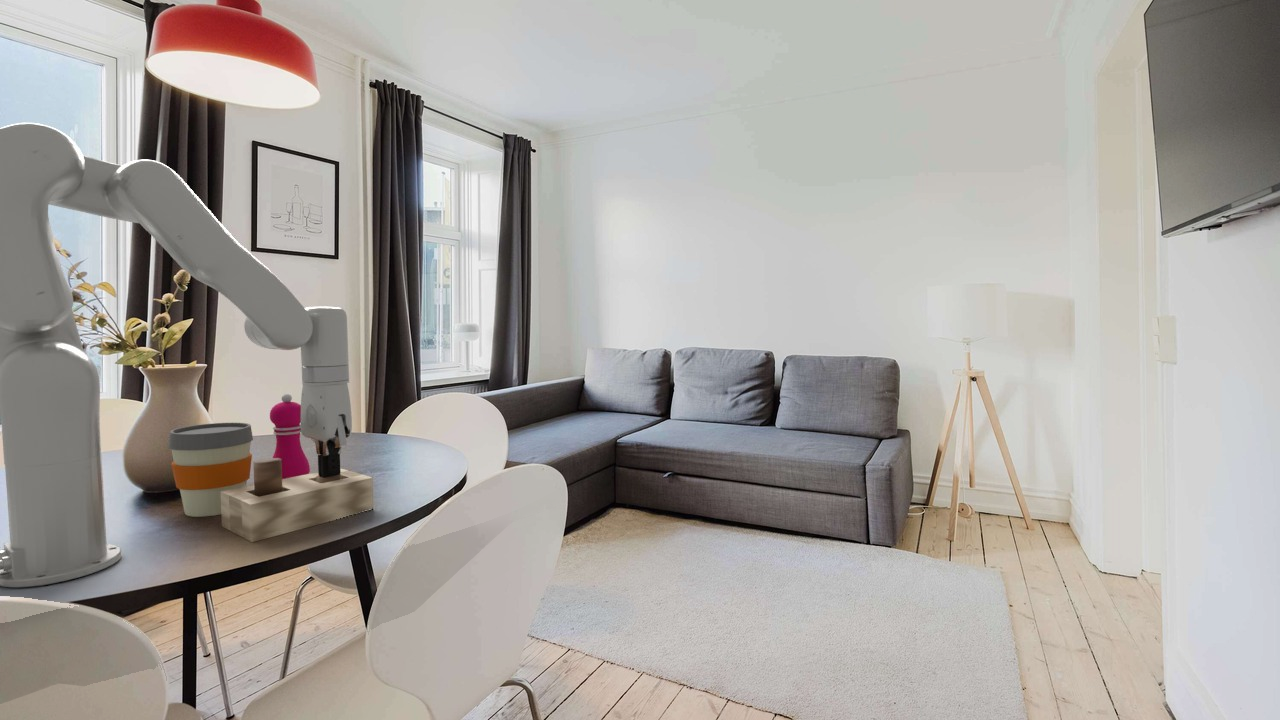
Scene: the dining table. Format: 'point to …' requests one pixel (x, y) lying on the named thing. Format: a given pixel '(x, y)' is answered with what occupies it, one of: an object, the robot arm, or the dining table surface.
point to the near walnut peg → (267, 476)
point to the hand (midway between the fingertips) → (329, 475)
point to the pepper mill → (289, 438)
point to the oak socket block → (295, 505)
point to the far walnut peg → (327, 478)
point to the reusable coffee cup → (210, 463)
